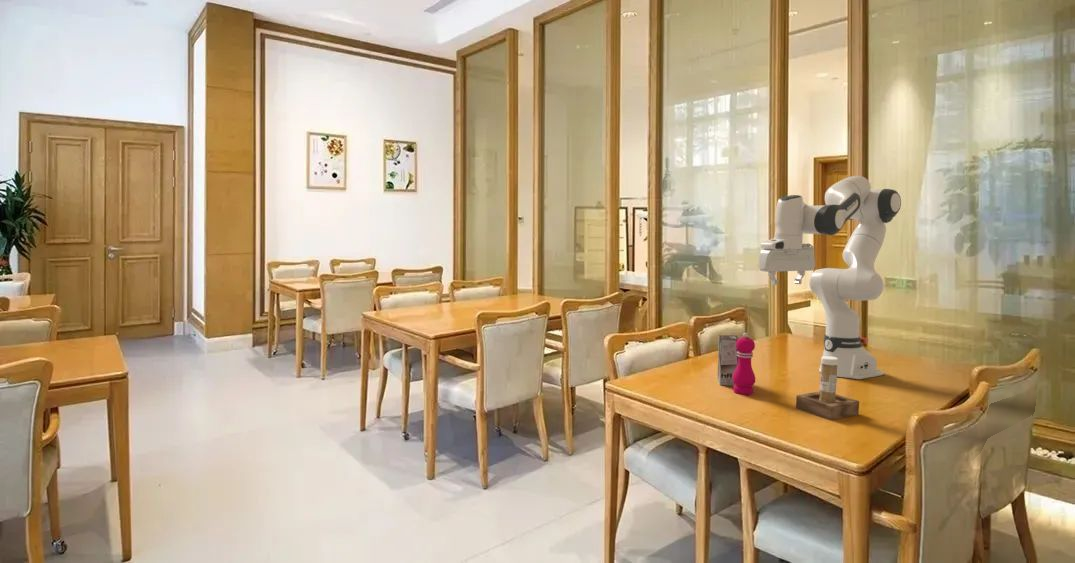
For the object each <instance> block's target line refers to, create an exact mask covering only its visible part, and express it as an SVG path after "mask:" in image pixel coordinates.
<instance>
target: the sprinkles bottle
mask: <svg viewBox="0 0 1075 563" xmlns="http://www.w3.org/2000/svg"><path fill="white" fill-rule="evenodd" d="M821 364H822V367H821V372H820V382H819V391H820V398H819V400H820V401H823V402H826V403H835V402H836V400H835V394H836V392H837V382H838V381H837V380H838V377H837V365H838V358H836V357H832V356H823V355H822V356H821V358H820V365H821Z"/></svg>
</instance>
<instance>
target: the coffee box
mask: <svg viewBox="0 0 1075 563" xmlns="http://www.w3.org/2000/svg"><path fill="white" fill-rule="evenodd" d="M738 339H739V336H738V335H734V334H733V335H730V334H729V335H727V334H725V335H722V334H719V335H718V344H717V345H718V347H717V348H718V349H717V350H718V352H717V380H718V384H719V386H731V387H734V385H735V383H734V382H733V380H732V378H733V374H734V371H735V369H736V367H737V365H738V356H737V351H738V350H737V348H736V341H737V340H738Z"/></svg>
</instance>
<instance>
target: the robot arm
mask: <svg viewBox="0 0 1075 563" xmlns="http://www.w3.org/2000/svg"><path fill="white" fill-rule="evenodd" d="M824 203H825V205H820V204H819V205H808V204H806V203H805V202H804V200H803V196H802V195H799V194H791V195H784V196H781V197H779V199H778V200H777V204H776V208H775V215H774V223H775V232H774V235H773V236H774V237H773V238H771V239H769V240H765V241H763V242H761V243H760V248H761V250H760V252H759V256H758V269H759V270H760V271H761V272H765V273H766V272H768V277H769V279H770V285H773V286H776V285H778V284H779V279H777V278H776V275H777V272H797V274H798V275H797V277H796V278H794V284H795V285H801V284H802V282H803V280H802V279H803V278H804V276H805V275H806V272H807V271H809V272H810V271H811V272H812V271H813V272H812V273H811V274H810V277H809V280H808V286H809V288H810V290H811V291H812V293H813V294H815V296H816V297H817V298H818V299H819V301H820V302H821V304H822V307H823V310H824V313H825V334H824V336H823V346H824V347H823V348H824V349H823V352H822V357H823V356H832V357H836V358H838V365H837V378H838V377H839V378H848V379H854V380H855V379H856V380H863V379H868V378H875V377H879V376H883V375H885V374H884V373H885V372H884V371H883V370H880V369H878V368H877V366H878V365H877V358H876V356H874V355H873V354H871V353H870V352H869V351H868V350H867V349H865V348H864V347H863V344H868V343H869V338H866V337H860V326H861V324H860V322H861V319H860V315H859V314H858V313H857V312H856V311H855V310H853V309H852V308H851V307H850V306H849V304H848V302H847V300H852V301H853V300H854V301H861V302H863V301H864V302H865V301H874V300H877V299H878V298H879V297H880V296H881V294H882V293H883V291H884V287H885V286H884V280H883V278H882V276H881V275H880V274H879V273H878V272H877V271H876V270H875V262H876V259H877V258H878V255H879V252H880V250H881V248H882V245H884V244H883V243H884V240H885V237H886V232H887V227H886V225H885V224H889V223H890V222H892V220H893V218H895V217H896V216H897V214H898V213H899V211H900V209H901V206H902V199H901V195H900V194H899V192H898V191H897V190H895V189H893V188H892V189H890V188H883V189H871V183H870V181H869V180H868V179H867V178H866V177H864V176H862V175H852V176H848V177H845V178H843V179H841V180H839V181H837V182H836V183H834V184H832V185H831V186H829V188H828V189H827V190H826V191H825V193H824ZM848 220H849V221H852V220H859V221H858V225H857V226H856V227H855V229H854V230H853V232H852V233H851V236H850V237H849V239H848V241H847V243H846V245H845V247H844V249H843V251H842V259H843V261H844V263H845V264H846V265H847V266H849V267H848V268H837V267H836V268H835V267H834V268H833V267H826V268H825V267H824V268H820V269H819V268H818V269H815V267H816V259H815V247H814V246H813V245H812V244H811V243H803V237H804V235H805V234H809V235H810V234H811V235H824V236H825V235H826V236H835V235H837V234H838V233H839V232H840V231H841V230H842V229H843V227H844V225H845V224H846V222H848ZM819 365H820V366H819V369H818V372H820V373H821V367H822V364H821V363H820V364H819Z"/></svg>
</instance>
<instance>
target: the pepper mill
mask: <svg viewBox="0 0 1075 563" xmlns="http://www.w3.org/2000/svg"><path fill="white" fill-rule="evenodd" d="M738 338H739V337H738ZM755 347H756V344H755V341H754V340H753V339H752V338H750V337H749V333H748V332H743V334H742V337H740V338H739V339H738V340H737V341H736V348H737V350H738V351H737V356H738V365H737V367H736V369H735V371H734V374H733V378H732V380H733V382H734V383H735V385H734V386H733V393H735V394H737V395H738V394H739V395H741V396H742V395H744V396H746V395H747V396H748V395H753V394H754V387H753V386H754V385H755V383H756V375H755V372H754V370H753V367H752V358H753V357H754V356H753V355H754V353H753V351H754V350H755Z"/></svg>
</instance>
